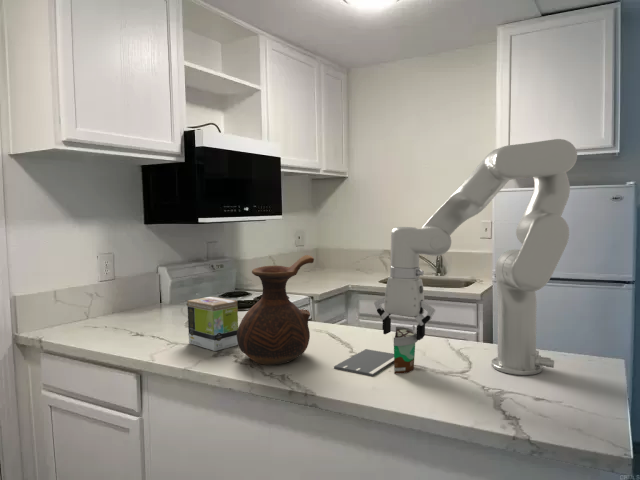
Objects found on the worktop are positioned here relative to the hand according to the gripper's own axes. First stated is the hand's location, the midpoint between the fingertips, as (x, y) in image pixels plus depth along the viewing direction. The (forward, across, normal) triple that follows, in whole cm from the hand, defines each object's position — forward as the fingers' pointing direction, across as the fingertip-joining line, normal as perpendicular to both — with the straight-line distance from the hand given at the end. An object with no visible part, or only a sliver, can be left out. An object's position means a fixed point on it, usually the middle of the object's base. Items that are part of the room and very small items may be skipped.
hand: (403, 336), depth 131 cm
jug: (+10, +36, +10) cm, 39 cm away
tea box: (+11, +63, +9) cm, 65 cm away
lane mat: (+9, +10, 0) cm, 14 cm away
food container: (+9, -1, -1) cm, 9 cm away
